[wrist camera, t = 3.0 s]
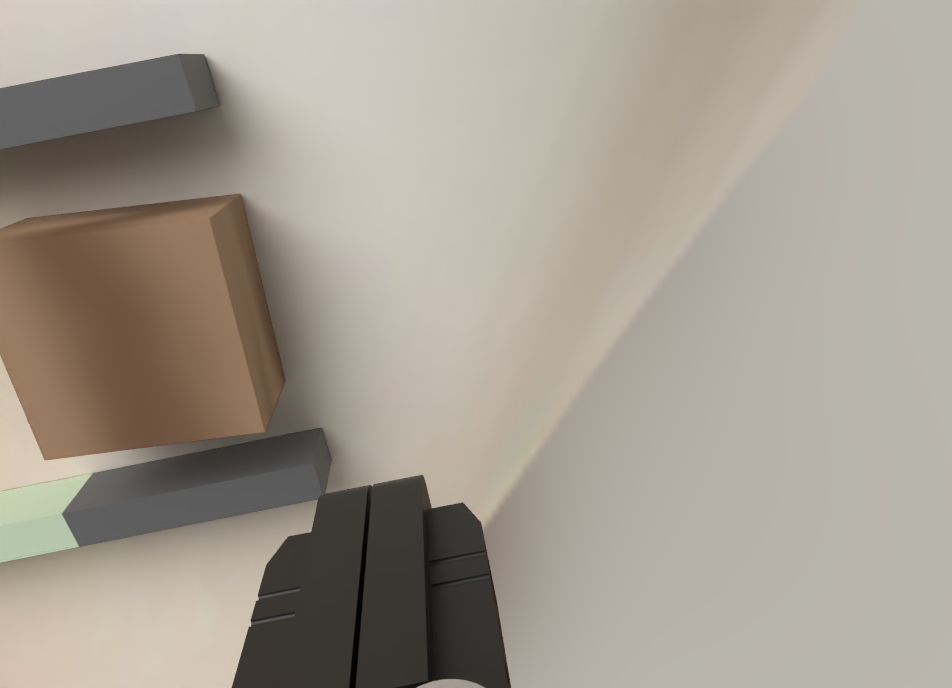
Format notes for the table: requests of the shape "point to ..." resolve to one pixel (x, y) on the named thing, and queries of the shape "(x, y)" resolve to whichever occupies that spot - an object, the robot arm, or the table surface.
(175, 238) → the walnut block
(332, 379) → the table surface
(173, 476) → the box
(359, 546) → the robot arm
